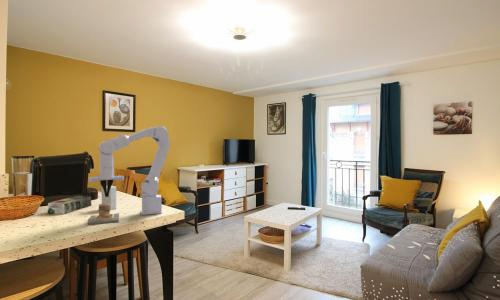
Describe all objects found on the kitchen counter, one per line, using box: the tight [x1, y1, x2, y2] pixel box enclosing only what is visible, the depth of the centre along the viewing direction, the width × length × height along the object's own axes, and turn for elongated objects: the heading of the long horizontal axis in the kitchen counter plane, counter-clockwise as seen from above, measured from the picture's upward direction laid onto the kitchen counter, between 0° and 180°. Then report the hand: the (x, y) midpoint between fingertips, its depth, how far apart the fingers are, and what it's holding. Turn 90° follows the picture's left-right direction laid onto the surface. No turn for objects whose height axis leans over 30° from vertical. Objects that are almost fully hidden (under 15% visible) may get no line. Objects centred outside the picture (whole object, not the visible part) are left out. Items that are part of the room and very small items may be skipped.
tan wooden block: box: [98, 203, 111, 219], centre depth 130 cm, size 4×4×6 cm
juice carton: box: [47, 194, 92, 215], centre depth 148 cm, size 20×10×6 cm, turn 171°
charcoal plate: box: [87, 212, 120, 226], centre depth 130 cm, size 12×12×2 cm
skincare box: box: [101, 185, 117, 211], centre depth 150 cm, size 6×4×12 cm
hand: (107, 196), depth 132 cm, fingers closed
